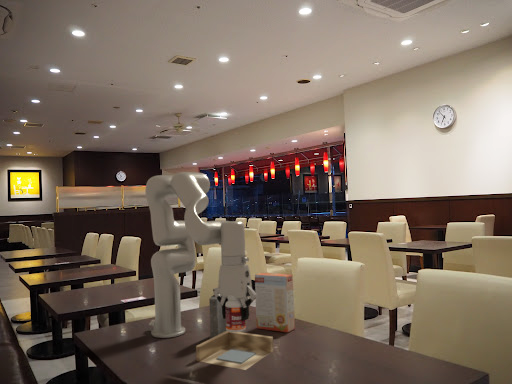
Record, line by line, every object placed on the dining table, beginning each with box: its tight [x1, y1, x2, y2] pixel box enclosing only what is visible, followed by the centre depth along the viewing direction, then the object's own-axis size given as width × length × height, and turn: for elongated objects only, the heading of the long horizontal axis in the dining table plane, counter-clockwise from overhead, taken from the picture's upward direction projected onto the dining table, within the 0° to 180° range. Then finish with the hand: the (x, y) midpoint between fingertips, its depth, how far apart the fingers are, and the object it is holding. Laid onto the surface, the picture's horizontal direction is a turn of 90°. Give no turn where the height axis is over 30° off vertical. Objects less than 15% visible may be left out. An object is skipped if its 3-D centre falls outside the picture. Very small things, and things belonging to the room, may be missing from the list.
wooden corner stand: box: [195, 331, 274, 371], centre depth 132 cm, size 18×18×5 cm
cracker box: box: [254, 272, 296, 333], centre depth 162 cm, size 14×6×21 cm, turn 58°
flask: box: [208, 287, 227, 339], centre depth 151 cm, size 4×14×18 cm, turn 165°
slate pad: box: [216, 349, 256, 364], centre depth 131 cm, size 9×9×1 cm
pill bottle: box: [225, 296, 247, 332], centre depth 131 cm, size 6×6×11 cm
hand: (235, 318), depth 131 cm, fingers closed on pill bottle, 6 cm apart
